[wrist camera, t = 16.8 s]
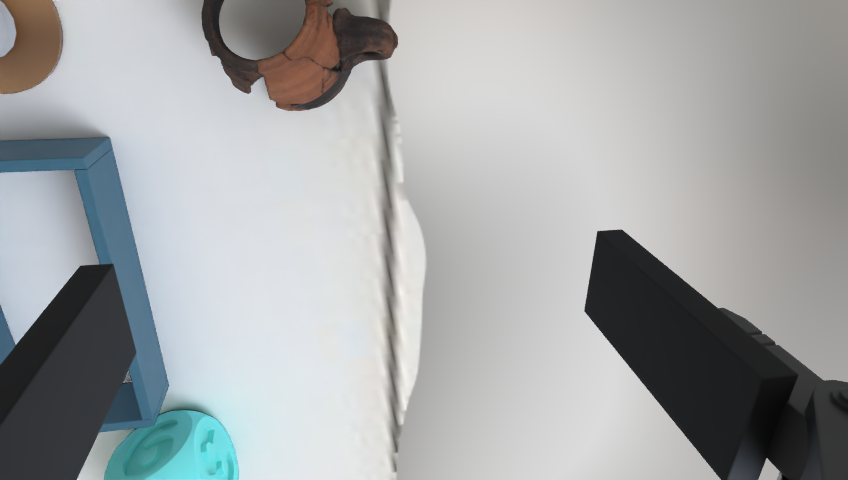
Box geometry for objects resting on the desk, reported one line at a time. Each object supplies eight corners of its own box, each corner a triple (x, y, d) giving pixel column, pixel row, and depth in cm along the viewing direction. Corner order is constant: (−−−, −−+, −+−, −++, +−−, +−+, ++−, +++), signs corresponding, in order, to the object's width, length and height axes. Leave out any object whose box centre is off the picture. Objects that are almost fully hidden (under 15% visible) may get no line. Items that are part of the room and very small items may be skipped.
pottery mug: (251, 125, 41) (191, 96, 33) (244, -1, 41) (182, -61, 33) (410, 111, 40) (389, 77, 31) (402, -19, 40) (379, -87, 31)
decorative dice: (168, 483, 54) (145, 560, 46) (120, 429, 50) (88, 503, 43) (244, 452, 54) (233, 525, 47) (202, 396, 50) (184, 465, 43)
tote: (-74, 142, 37) (-127, 165, 33) (110, 137, 39) (84, 157, 35) (25, 400, 47) (-5, 444, 43) (169, 385, 49) (154, 426, 44)
